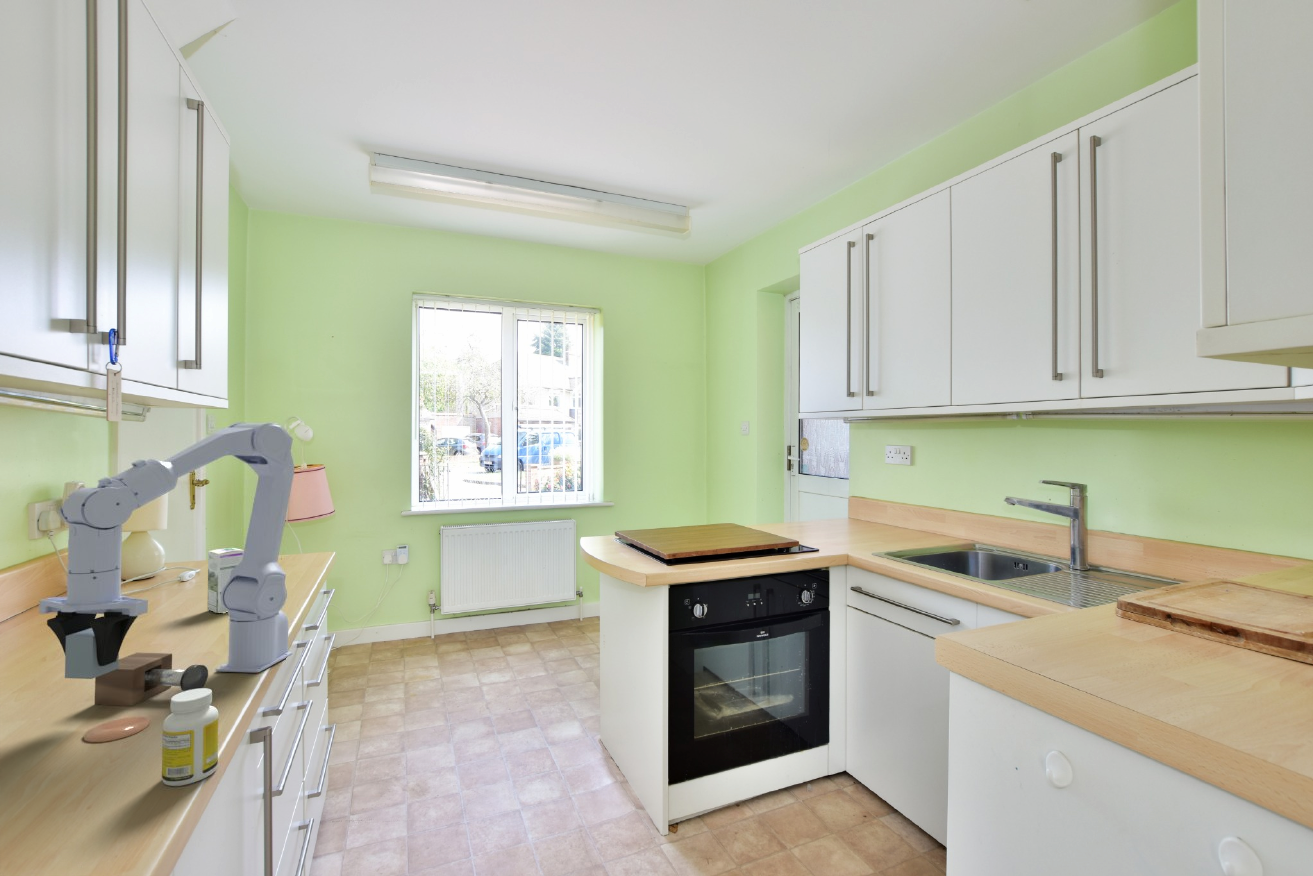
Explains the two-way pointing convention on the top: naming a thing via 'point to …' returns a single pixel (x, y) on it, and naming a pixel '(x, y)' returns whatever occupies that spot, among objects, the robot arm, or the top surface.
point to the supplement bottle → (190, 738)
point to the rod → (178, 677)
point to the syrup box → (220, 574)
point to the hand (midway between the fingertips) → (92, 663)
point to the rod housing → (131, 679)
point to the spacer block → (84, 657)
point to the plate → (116, 729)
